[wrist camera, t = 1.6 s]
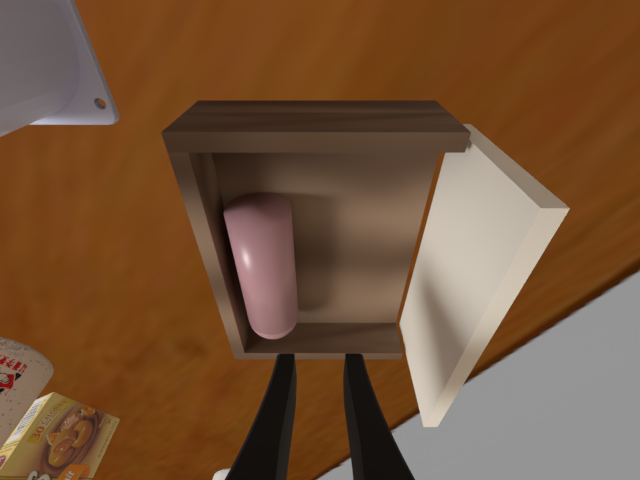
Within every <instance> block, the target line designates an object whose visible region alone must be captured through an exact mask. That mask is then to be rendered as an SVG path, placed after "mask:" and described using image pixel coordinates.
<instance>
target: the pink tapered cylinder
mask: <svg viewBox="0 0 640 480" xmlns="http://www.w3.org/2000/svg"><path fill="white" fill-rule="evenodd" d="M224 218H225V222H226V226H227V230H228V235H229V239H230V243H231V247H232V251H233V256H234V260H235V264H236V268H237V273H238V277H239V281H240V285H241V289H242V294H243V298H244V302H245V306H246V310H247V315H248V319H249V322H250V325H251V327H252V329H253V330H254V331H255V332H256V333H257V334H258V335H259V336H261V337H263V338H266V339H279V338H282V337H284V336H286V335H287V334H289V333H290V332H291V331H292V330H293V328H294V327H295V325H296V322H297V320H298V299H297V284H296V270H295V256H294V241H293V227H292V213H291V204H290V202H289V201H288V200H287V199H286V198H285V197H283V196H281V195H278V194H275V193H268V192H257V193H250V194H246V195H243V196H240V197H238V198H236V199H234V200H232V201H231V202H230V203H229V204H228V205H227V206H226V207H225V209H224Z"/></svg>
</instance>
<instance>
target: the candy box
mask: <svg viewBox="0 0 640 480" xmlns="http://www.w3.org/2000/svg"><path fill="white" fill-rule="evenodd" d="M119 421H120V419H119V418H117V417H114V416H112V415H110V414H107V413H104V412H102V411H99V410H97V409H94V408H92V407H89V406H87V405H85V404H82V403H79V402H77V401H75V400H73V399H70V398H68V397H65V396H63V395H60V394H58V393H56V392H52V393H50V394H48V395H45V396H43V397H41V398H39V399H36V400H35V401H34V403H33V404H32V405H31V407H30V408H29V410H28V411H27V413H26V414H25V415H24V417H23V418H22V420H21V421H20V422H19V424H18V425H17V427H16V428H15V430H14V431H13V432H12V434H11V435H10V437H9V438H8V439H7V441H6V442H5V444H4V445H3V447H2V448H1V449H0V480H92V479H93V477H94V475H95V472H96V470H97V468H98V466H99V464H100V462H101V460H102V458H103V455H104V453H105V451H106V449H107V447H108V445H109V442H110V440H111V438H112V436H113V434H114V432H115V429H116V427H117V425H118V423H119Z"/></svg>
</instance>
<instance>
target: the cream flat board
mask: <svg viewBox="0 0 640 480" xmlns="http://www.w3.org/2000/svg"><path fill="white" fill-rule="evenodd" d="M463 125H464V126H465V127H466V128H467V129H468V130H469V131H470V132H471V135H470V138H469V141H468V144H467V147H466V151H465V153H445V156H444V159H443V163H442V167H441V170H440V174H439V178H438V182H437V185H436V189H435V193H434V197H433V200H432V204H431V208H430V212H429V215H428V219H427V223H426V226H425V230H424V234H423V238H422V241H421V245H420V249H419V253H418V256H417V260H416V264H415V268H414V271H413V275H412V279H411V282H410V286H409V290H408V294H407V297H406V301H405V305H404V309H403V312H402V316H401V320H400V324H399V327H400V331H401V336H402V340H403V344H404V348H405V352H406V356H407V361H408V365H409V369H410V373H411V377H412V381H413V386H414V390H415V394H416V398H417V402H418V406H419V410H420V415H421V419H422V423H423V427H438V425H439V424H440V422H441V420H442V419H443V417H444V415H445V414H446V412H447V410H448V409H449V407H450V405H451V404H452V402H453V400H454V399H455V397H456V396H457V394H458V392H459V391H460V389H461V387H462V386H463V384H464V382H465V381H466V379H467V377H468V376H469V374H470V372H471V371H472V369H473V368H474V366H475V364H476V363H477V361H478V359H479V358H480V356H481V354H482V353H483V351H484V349H485V348H486V346H487V344H488V343H489V341H490V339H491V338H492V336H493V335H494V333H495V331H496V330H497V328H498V326H499V325H500V323H501V321H502V320H503V318H504V316H505V315H506V313H507V311H508V310H509V308H510V307H511V305H512V303H513V302H514V300H515V298H516V297H517V295H518V293H519V292H520V290H521V288H522V287H523V285H524V283H525V282H526V280H527V279H528V277H529V275H530V274H531V272H532V270H533V269H534V267H535V265H536V264H537V262H538V260H539V259H540V257H541V255H542V254H543V252H544V251H545V249H546V247H547V246H548V244H549V242H550V241H551V239H552V237H553V236H554V234H555V232H556V231H557V229H558V227H559V226H560V224H561V223H562V221H563V219H564V218H565V216H566V214H567V213H568V211H569V209H570V208H569V207H568V206H567V205H566V204H564V203H563V202H562V201H561V200H560V199H559V198H557V197H556V196H555V195H554V194H553V193H551V192H550V191H549V190H548V189H547V188H546V187H544V186H543V185H542V184H541V183H540V182H538V181H537V180H536V179H535V178H534V177H533V176H531V175H530V174H529V173H528V172H527V171H525V170H524V169H523V168H522V167H521V166H520V165H518V164H517V163H516V162H515V161H514V160H512V159H511V158H510V157H509V156H508V155H507V154H505V153H504V152H503V151H502V150H501V149H499V148H498V147H497V146H496V145H495V144H494V143H492V142H491V141H490V140H489V139H488V138H486V137H485V136H484V135H483V134H482V133H481V132H479V131H478V130H477V129H476V128H475V127H473V126H472V125H471V124H463Z"/></svg>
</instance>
